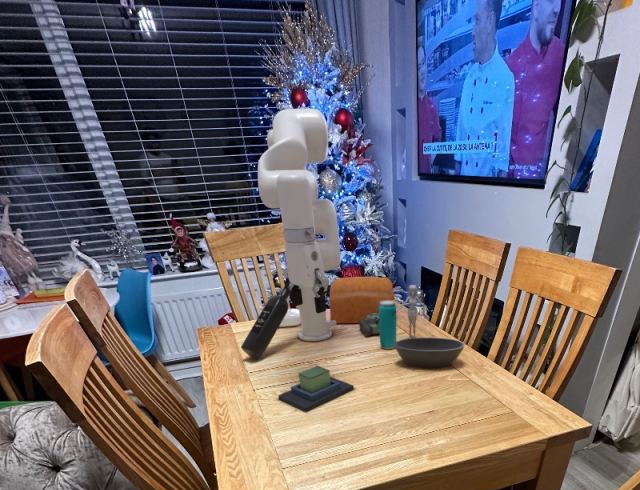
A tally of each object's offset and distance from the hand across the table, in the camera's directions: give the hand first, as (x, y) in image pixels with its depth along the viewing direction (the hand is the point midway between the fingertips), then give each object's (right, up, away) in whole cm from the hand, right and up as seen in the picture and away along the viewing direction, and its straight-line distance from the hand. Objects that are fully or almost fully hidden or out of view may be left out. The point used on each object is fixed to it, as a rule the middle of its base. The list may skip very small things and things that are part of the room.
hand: (309, 308), depth 116 cm
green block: (+1, -21, +6) cm, 22 cm away
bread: (+12, +22, +61) cm, 66 cm away
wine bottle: (-24, -4, +27) cm, 36 cm away
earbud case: (-19, +19, +58) cm, 64 cm away
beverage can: (+22, +1, +35) cm, 41 cm away
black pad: (+1, -22, +6) cm, 23 cm away
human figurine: (+31, +7, +41) cm, 52 cm away
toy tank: (+17, +12, +48) cm, 52 cm away
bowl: (+35, -8, +22) cm, 42 cm away
